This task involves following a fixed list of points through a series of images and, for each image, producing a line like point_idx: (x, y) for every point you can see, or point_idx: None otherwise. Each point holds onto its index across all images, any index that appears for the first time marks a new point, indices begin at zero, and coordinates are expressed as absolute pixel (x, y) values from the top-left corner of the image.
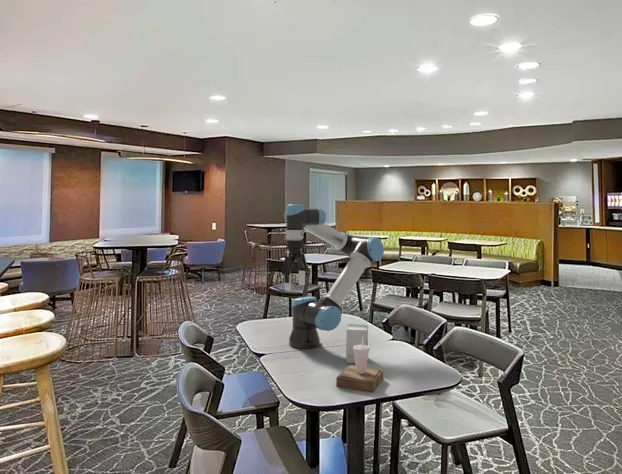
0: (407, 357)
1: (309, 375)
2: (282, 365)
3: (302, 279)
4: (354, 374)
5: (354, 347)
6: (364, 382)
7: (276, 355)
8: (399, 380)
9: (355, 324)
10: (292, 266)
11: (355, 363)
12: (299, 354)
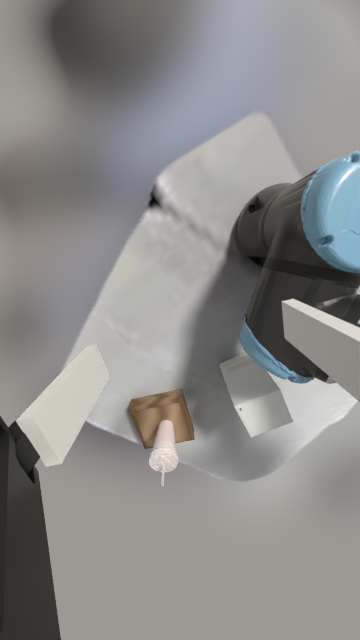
0: (297, 417)
1: (135, 350)
2: (136, 286)
3: (306, 345)
4: (151, 424)
5: (154, 455)
6: (141, 440)
7: (170, 234)
8: (204, 442)
9: (284, 401)
10: (44, 580)
11: (158, 432)
12: (206, 270)
